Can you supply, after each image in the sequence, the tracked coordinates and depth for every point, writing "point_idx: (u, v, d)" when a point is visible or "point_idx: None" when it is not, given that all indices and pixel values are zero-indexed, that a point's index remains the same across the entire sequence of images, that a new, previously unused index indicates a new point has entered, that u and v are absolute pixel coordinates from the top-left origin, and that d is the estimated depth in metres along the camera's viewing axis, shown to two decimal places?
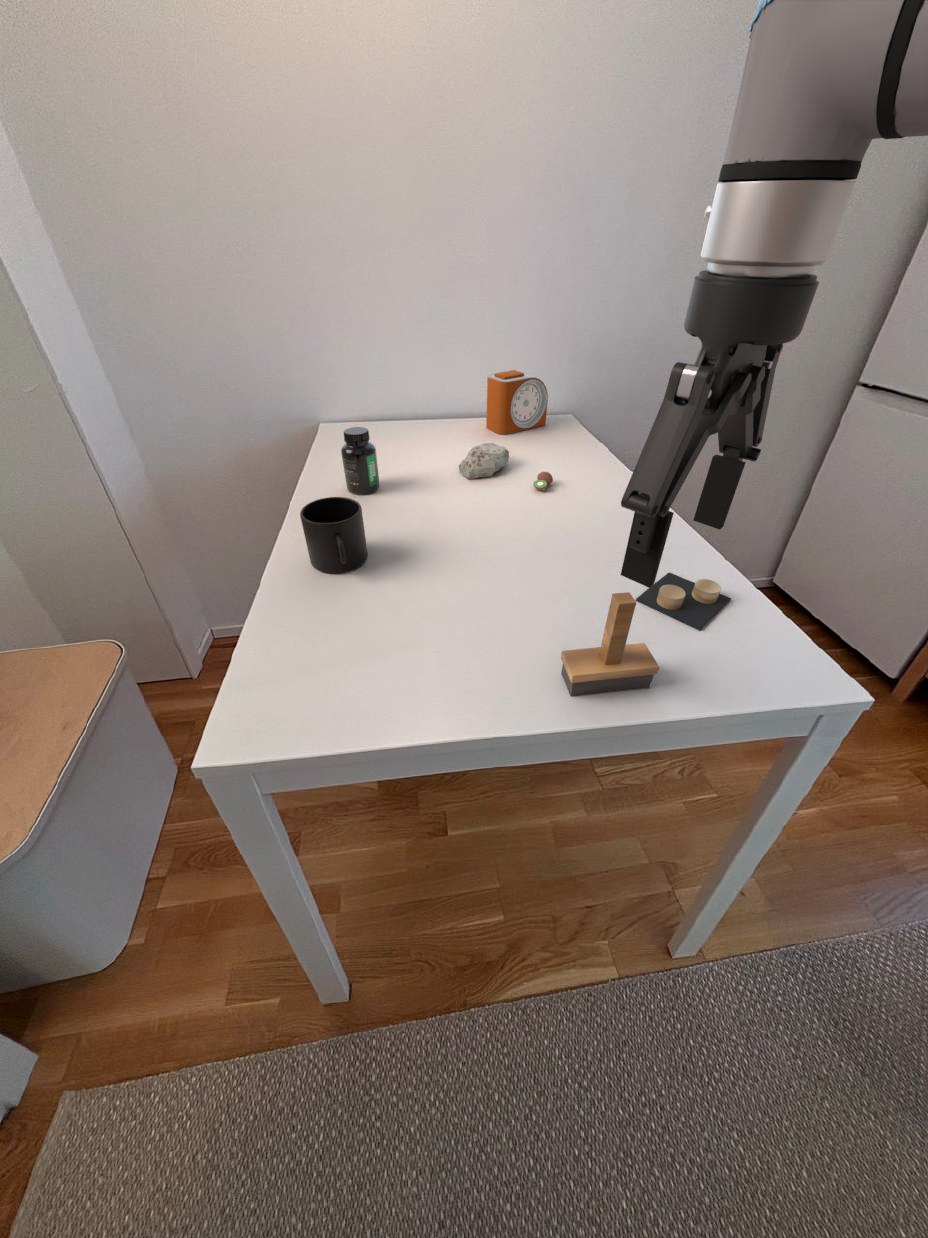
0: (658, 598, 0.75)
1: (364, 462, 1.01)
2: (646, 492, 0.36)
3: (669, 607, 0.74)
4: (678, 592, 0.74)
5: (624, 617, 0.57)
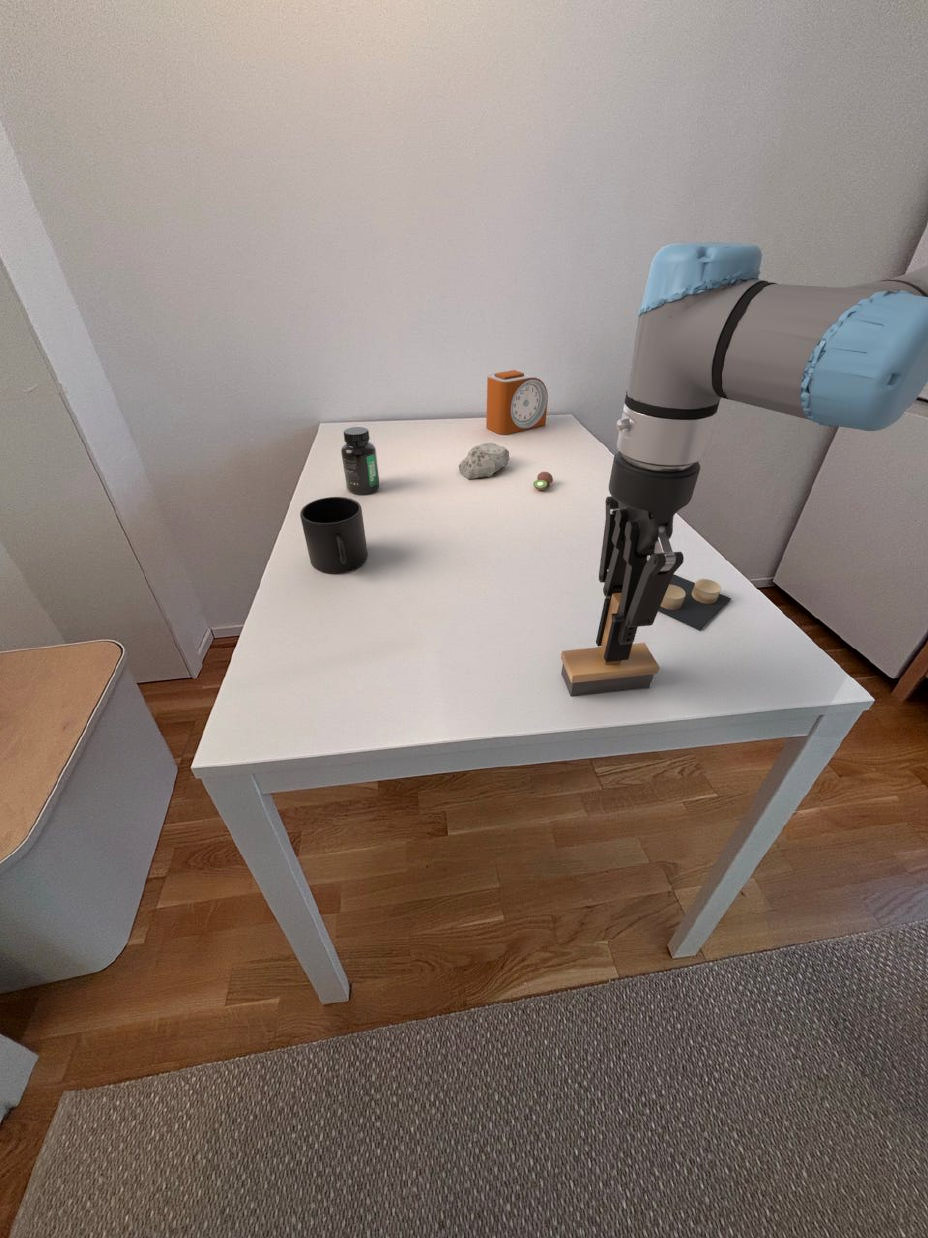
0: None
1: (364, 462, 1.01)
2: (647, 618, 0.52)
3: (669, 607, 0.74)
4: (678, 592, 0.74)
5: None
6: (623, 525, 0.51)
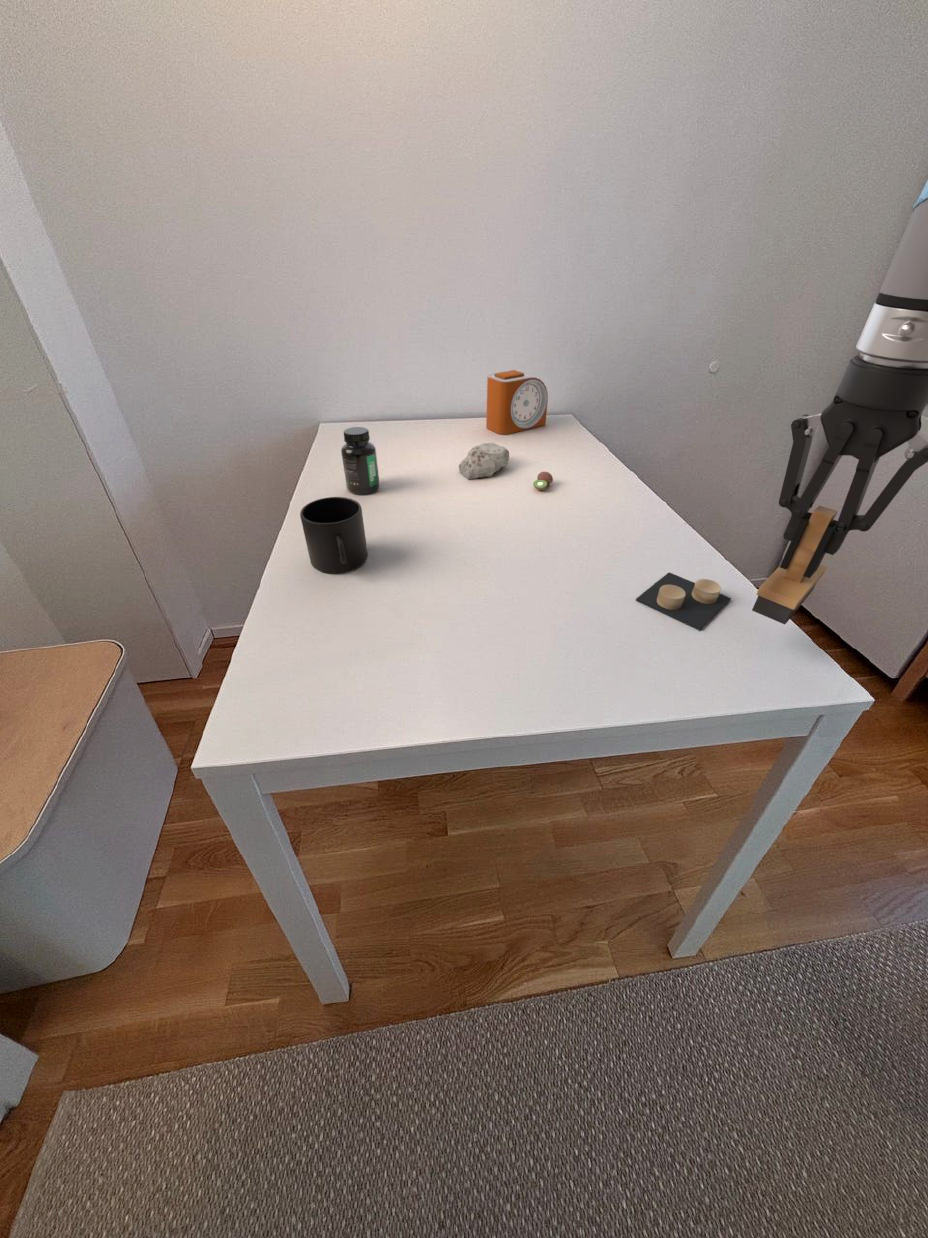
0: (658, 598, 0.75)
1: (364, 462, 1.01)
2: (878, 517, 0.56)
3: (669, 607, 0.74)
4: (678, 592, 0.74)
5: None
6: (849, 437, 0.53)
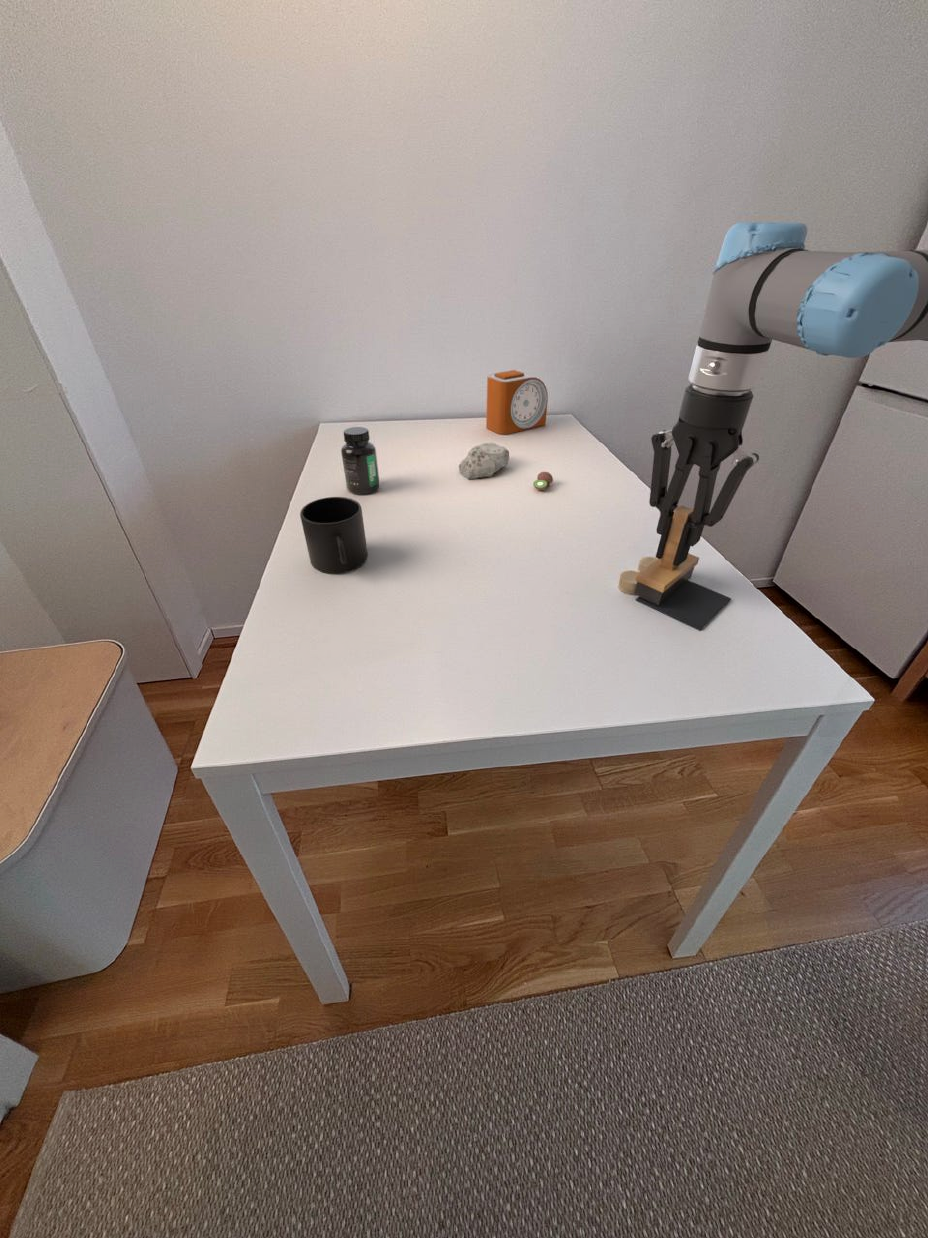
0: (619, 583, 0.79)
1: (364, 462, 1.01)
2: (722, 514, 0.67)
3: (629, 592, 0.78)
4: None
5: None
6: (691, 449, 0.65)
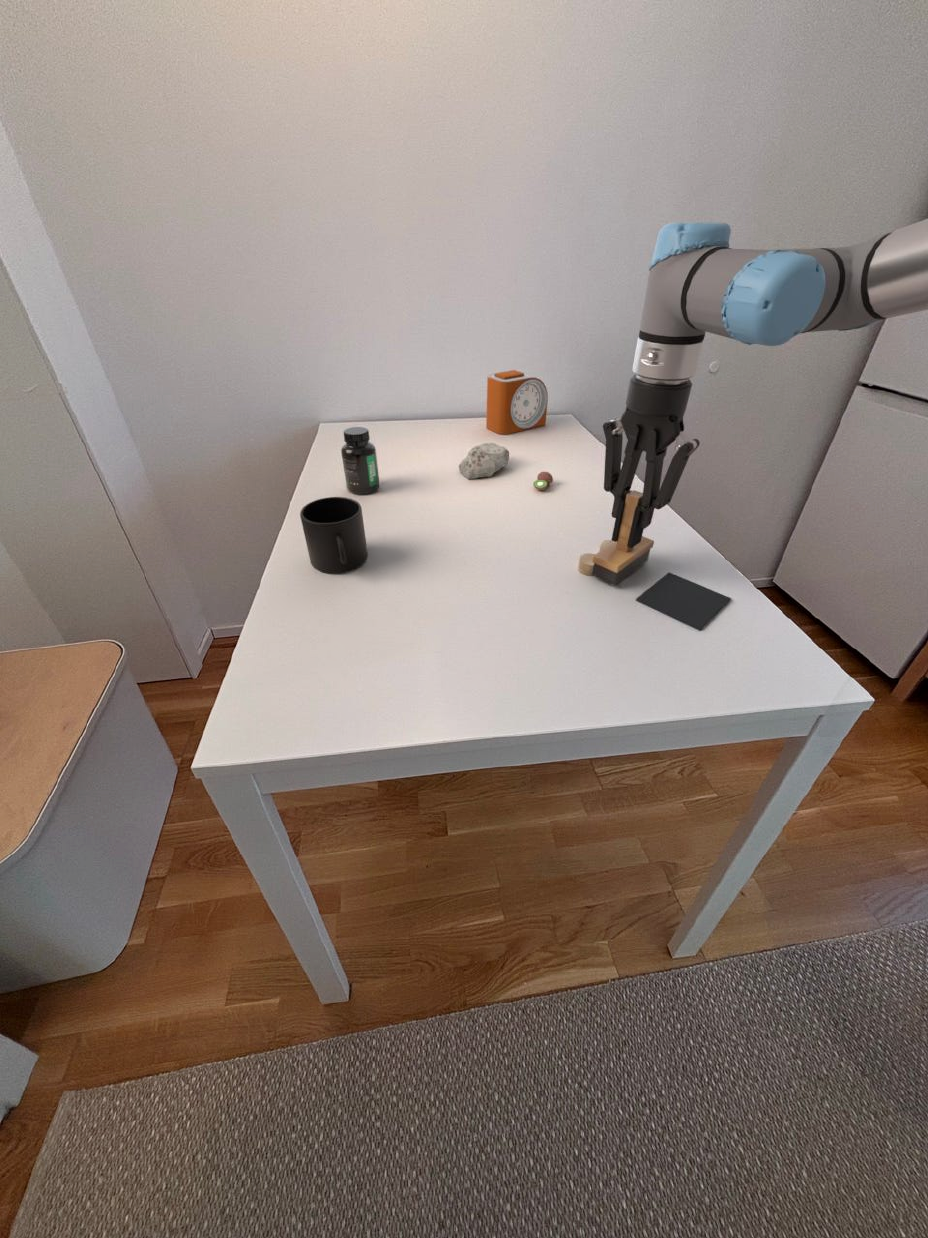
0: (578, 565, 0.83)
1: (364, 462, 1.01)
2: (669, 498, 0.72)
3: (587, 573, 0.82)
4: None
5: None
6: (638, 436, 0.69)
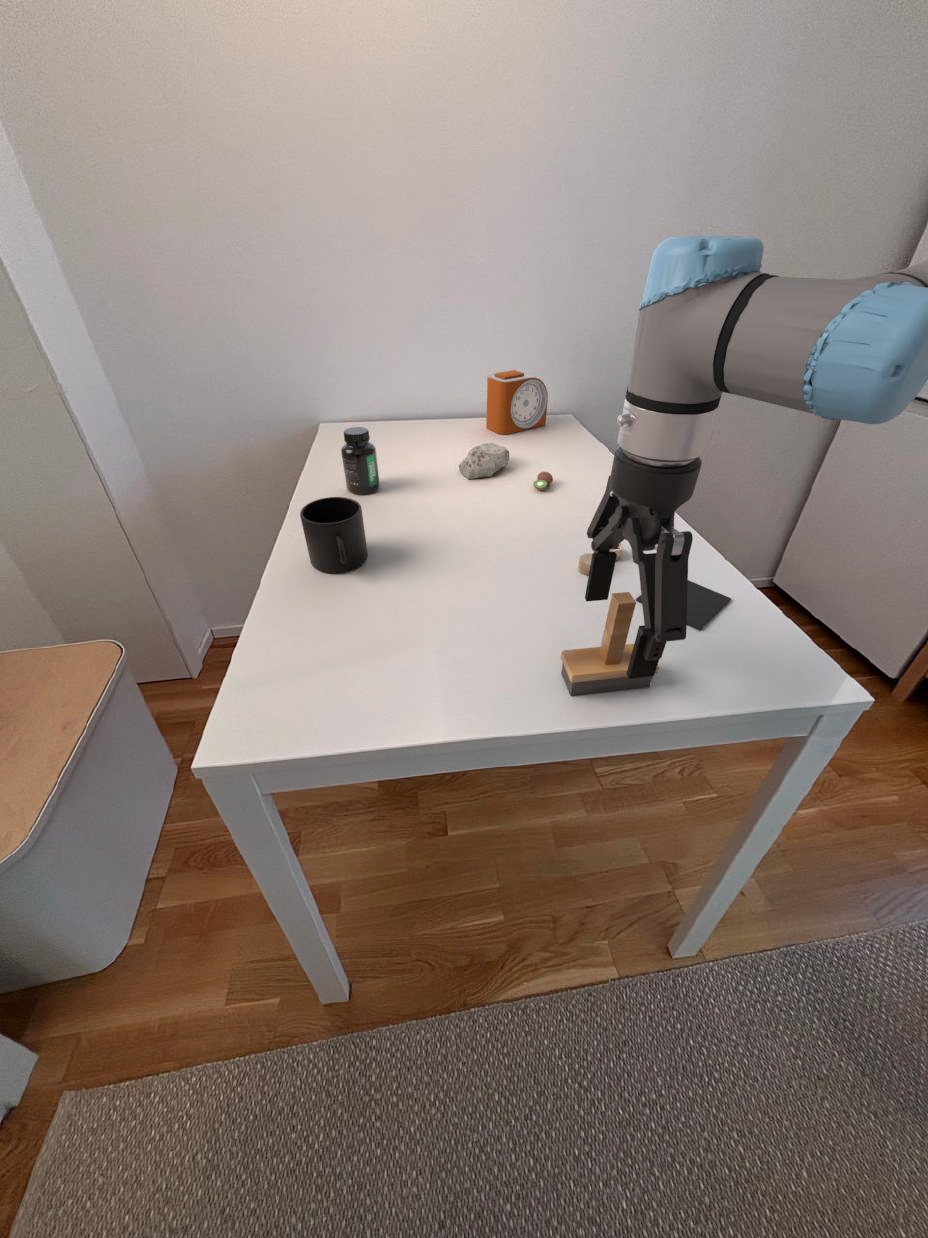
0: (578, 565, 0.83)
1: (364, 462, 1.01)
2: (677, 626, 0.46)
3: (587, 573, 0.82)
4: None
5: (624, 617, 0.57)
6: (621, 520, 0.51)
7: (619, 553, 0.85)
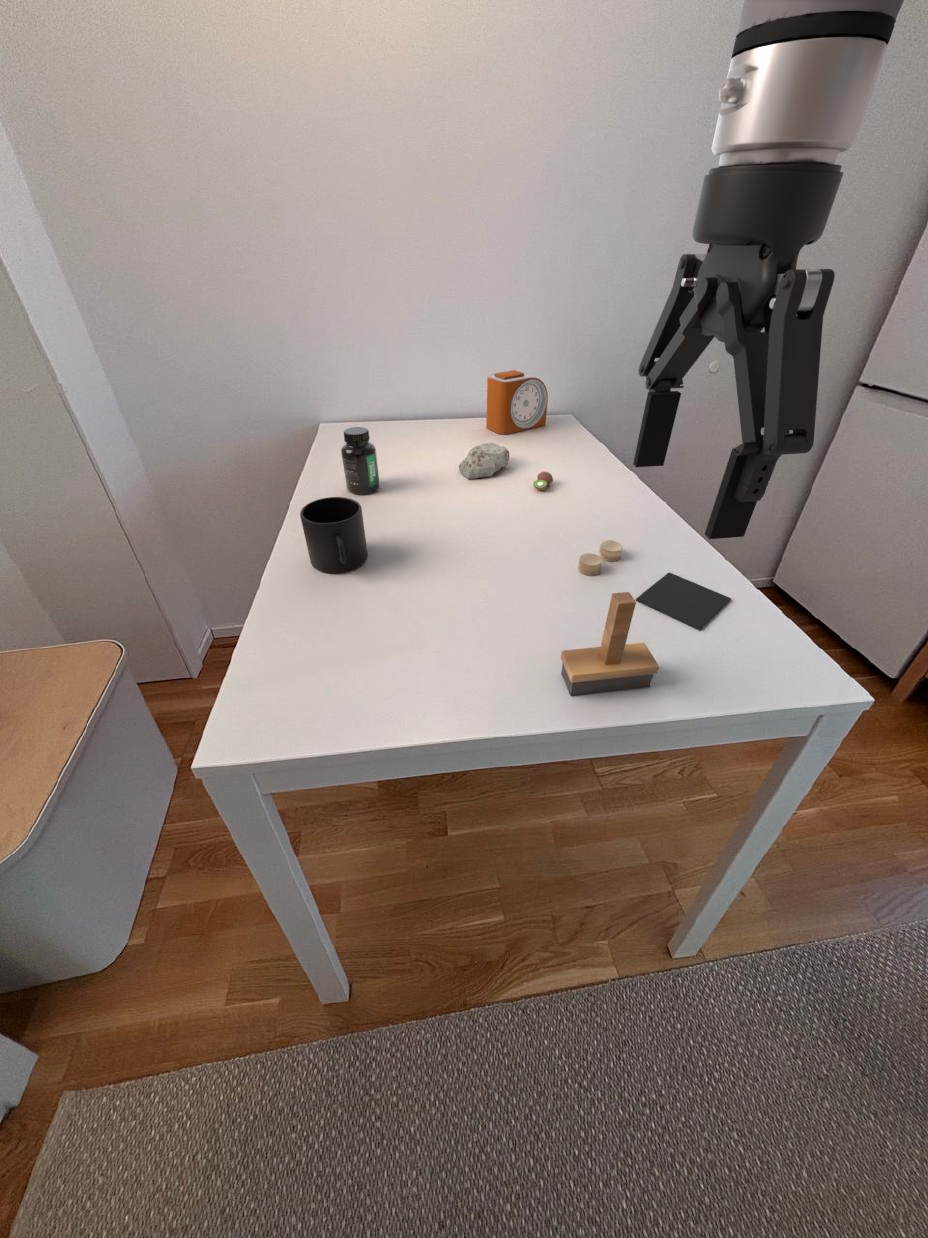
0: (578, 565, 0.83)
1: (364, 462, 1.01)
2: (801, 427, 0.31)
3: (587, 573, 0.82)
4: (596, 559, 0.82)
5: (624, 617, 0.57)
6: (704, 304, 0.36)
7: (619, 553, 0.85)
